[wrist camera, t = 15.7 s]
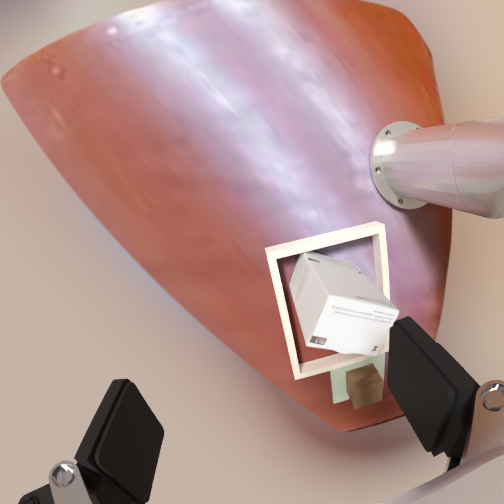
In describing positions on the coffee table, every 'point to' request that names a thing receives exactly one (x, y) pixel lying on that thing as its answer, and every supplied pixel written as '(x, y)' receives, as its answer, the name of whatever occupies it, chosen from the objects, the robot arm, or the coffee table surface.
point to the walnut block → (364, 386)
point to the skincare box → (340, 306)
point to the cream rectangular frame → (315, 243)
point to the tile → (340, 376)
